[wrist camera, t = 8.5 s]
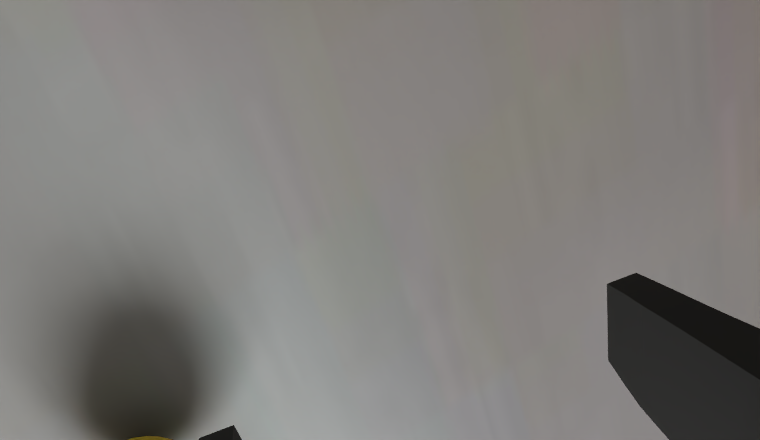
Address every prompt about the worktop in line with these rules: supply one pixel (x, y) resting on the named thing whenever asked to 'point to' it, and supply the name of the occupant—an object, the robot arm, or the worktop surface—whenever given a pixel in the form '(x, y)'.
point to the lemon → (149, 438)
